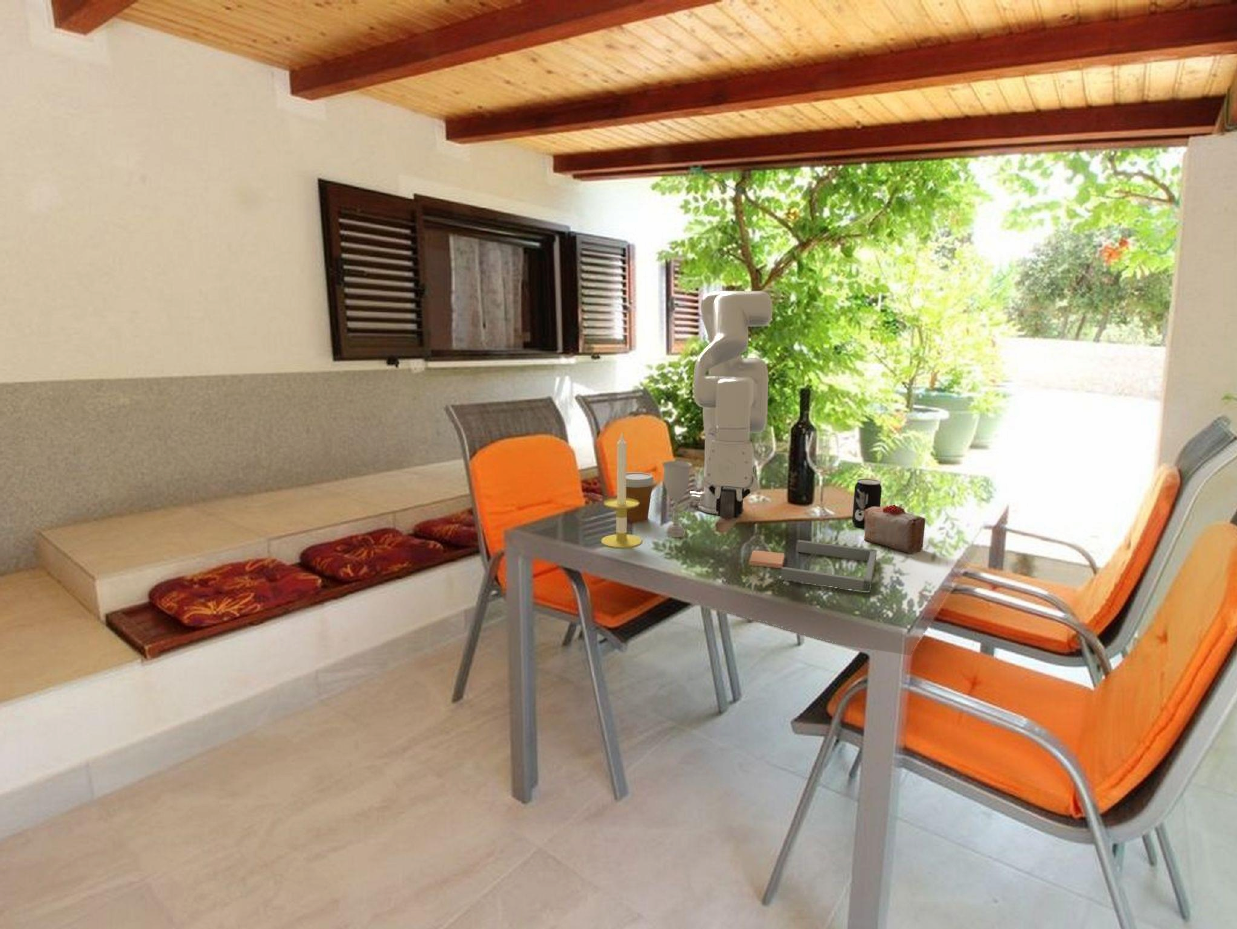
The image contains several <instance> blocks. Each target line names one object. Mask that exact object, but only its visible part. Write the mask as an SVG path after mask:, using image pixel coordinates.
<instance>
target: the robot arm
mask: <svg viewBox="0 0 1237 929" xmlns="http://www.w3.org/2000/svg"><path fill="white" fill-rule="evenodd" d="M700 310H701V312H700V313H701V317H702V318H701V319H702V322H703V325H704V328H705V330H706V333H707V336H708V342H709V344H708V345H707V346H706V347H705V348H704V349H703V350H702V351H701V353H699V355H698V357H697V359H696V361H695V365H694V367H693V368H694V370H693V385H692V386H693V387H692V389H693V391H692V392H693V399H694V400H693V401H694V402H695V404H696V405H697V406H698V407H700V408H702V419H703V428H704V430H703V431H704V469H703V470H704V471H703V472H704V474H703V479H702V480H701V481H700V483H701V486H703V491H700V492H697V491H690V492H689V498H690V500H695V501H696V500H697V501H699V502H698V503H697V508H698V510H699V511H702V512H704V513H706V514H707V513H708V514H713V515H717V517H720V507H721V491H722V490H723V489H724V488H726V487H727V488H736V493H737V497H736V501H735V505H734V518H738V517H739V516H740V514H741V515H742V514H743V510H744V500H745V498H746V497H747V496H749V495H750V494H753V493H755V492H757V491H759V490H760V489H761V487H760V486H761V485H760V484H759V482H758V480H757V478H756V476H755V473H756V472H755V454H754V447H753V442H752V440H750V434H752V433H755V434H756V433H757V434H759V433H761V432H763V431H764V430H765V429H766V427H767V421H768V402H769V400H768V399H769V398H768V396H769V372H768V366H767V363H766V362H765V361H764V360H763V359H761V358H757V357H755V358H754V357H742V354H744V352H746V350H747V349H748V346H749V327H767V326H768V325H770V323H771V321H772V318H773V317H772V316H773V302H772V298H771V296H770V294H769V293H768V292H766V291H763V290H748V291H747V290H743V291H742V290H719V291H712V292H709V293H705V294H704V295H703V297H702V298H701V302H700ZM707 372H708V374H706V373H707Z"/></svg>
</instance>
